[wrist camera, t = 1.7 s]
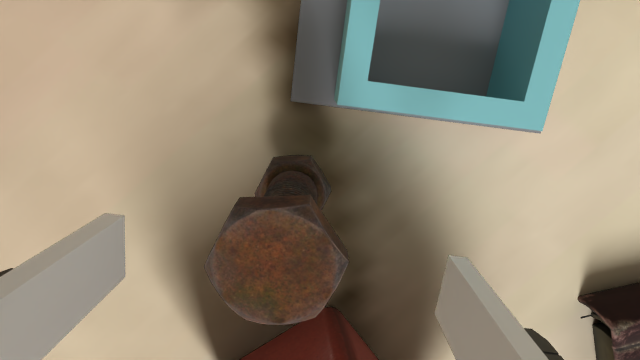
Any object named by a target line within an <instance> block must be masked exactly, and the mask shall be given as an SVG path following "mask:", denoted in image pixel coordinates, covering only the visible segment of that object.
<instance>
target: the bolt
mask: <svg viewBox="0 0 640 360" xmlns="http://www.w3.org/2000/svg"><path fill="white" fill-rule="evenodd" d="M330 193H331V186H330V184H329V182H328V181H327V179H326V177H325V176H324V174H323V172H322V171H321V169H320V168H319V166H318V165H317V163H316V162H315V161H314V159H313V158H312V156H304V155H290V156H279V157H273V159H272V161H271V163H270V165H269V166H268V168H267V170H266V172H265V174H264V176H263V178H262V180H261V182H260V184H259V186H258V188H257V190H256V192H255V195H256V197H240V198H239V199H238V201H237V202H236V204H235V205H234V207H233V209H232V211H231V213H230V215H229V216H228V218H227V220H226V222H225V224H224V226H223V228H222V230H221V232H220V234H219V236H218V238H217V240H216V242H215V244H214V246H213V248H212V250H211V252H210V254H209V256H208V258H207V261H206V263H205V266H204V268H205V270H206V272H207V274H208V277H209V279H210V281H211V283H212V284H213V286H214V287H215V289H216V291H217V292H218V293H219V295H220V296H221V298H222V299H223V300H224V301H225V303H226V304H227V305H228V306H229V307H230V308H231V309H232V310H233V311H234V312H235V313H237V314H238V315H239V316H241V317H242V318H244V319H245V320H248V321H252V322H256V323H261V324H269V325H284V324H292V323H298V322H302V321H305V320H309V319H312V318H315V317H316V316H317V315H318V314H319V313H320V312H321V311H322V309H323V308H324V307H325V305H326V304H327V302H328V301H329V299H330V298H331V296H332V294H333V293H334V291H335V290H336V288H337V286H338V284H339V282H340V280H341V278H342V276H343V274H344V272H345V270H346V267H347V265H348V263H349V260H348V253H347V249H346V248H345V246H344V245H343V243H342V242H341V240H340V239H339V237H338V236H337V234H336V233H335V231H334V230H333V228H332V227H331V225H330V224H329V222H328V221H327V219H326V218H325V216H324V215H323V213H322V212H321V210H322V209H323V207H324V205H325V203H326V201H327V199H328V197H329V195H330Z"/></svg>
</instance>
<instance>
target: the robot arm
mask: <svg viewBox="0 0 640 360" xmlns="http://www.w3.org/2000/svg"><path fill="white" fill-rule="evenodd" d="M124 278H125V218H124V215H117V214H109V213H105V214H103V215H101V216H100V217H98V218H96V219H95V220H93V221H91V222H90V223H88V224H86V225H85V226H83V227H81V228H80V229H78V230H77V231H75V232H73V233H72V234H70V235H68V236H67V237H65V238H63V239H62V240H60V241H58V242H57V243H55V244H54V245H52V246H50V247H49V248H47V249H45V250H44V251H42V252H40V253H39V254H37V255H35V256H34V257H32V258H31V259H29V260H27V261H26V262H24V263H22V264H21V265H19V266H17V267H16V268H14V269H13V268H10V269H7V270H5V271H2V272H0V360H42V359H43V358H44V357H45V356H46V355H47V354H48V353H49V352H50V351H51V350H52V349H53V348H54V347H55V346H56V345H57V344H58V343H59V342H60V341H61V340H62V339H63V338H64V337H65V336H66V335H67V334H68V333H69V332H70V331H71V330H72V329H73V328H74V327H75V326H76V325H77V324H78V323H79V322H80V321H81V320H82V319H83V318H84V317H85V316H86V315H87V314H88V313H89V312H90V311H91V310H92V309H93V308H94V307H95V306H96V305H97V304H98V303H99V302H100V301H101V300H102V299H103V298H104V297H105V296H106V295H107V294H108V293H109V292H110V291H111V290H113V289H114V288H115V287H116V286H117V285H118V284H119V283H120V282H121V281H122V280H123V279H124ZM435 316H436V318H437V320H438V322H439V324H440V327H441V329H442V331H443V333H444V335H445V337H446V339H447V342H448V344H449V346H450V348H451V350H452V352H453V354H454V357H455V359H456V360H564V359H563V358H562V357H561V356H559V355H558V352H557V351H556V350H555V349H554V348H553V346H552V345H551V344H550V343H549V342H548V341H547V340H546V339H545V338H543V337H542V336H541V335H539V334H538V333H537V332H535V331H534V330H533V329H527V328H523V327H522V326H521V324H520V323H519V322H518V321H517V319H516V318H515V317H514V316H513V314H512V313H511V312H510V311H509V309H508V308H507V307H506V306H505V304H504V303H503V302H502V301H501V299H500V298H499V297H498V296H497V294H496V293H495V292H494V291H493V289H492V288H491V287H490V286H489V284H488V283H487V282H486V281H485V279H484V278H483V277H482V276H481V274H480V273H479V272H478V270H477V269H476V268H475V267H474V265H473V264H472V263H471V262H470V260H469V259H468V258H467V257H459V256H451V255H448V260H447V264H446V268H445V272H444V276H443V280H442V284H441V289H440V293H439V297H438V301H437V305H436V309H435Z"/></svg>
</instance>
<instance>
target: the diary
mask: <svg viewBox="0 0 640 360" xmlns="http://www.w3.org/2000/svg"><path fill="white" fill-rule="evenodd" d="M578 301H579V302H580V303H582V304H584V305H586V306H587V307H589V308H590V309H591V310H592V311H593V313H591V315H587V316H583V317H581V318H585V317H589V316H591V317H593V318H596V319H598V320H600V321H602V322H600V323H596V324H593V334H594V343H595V351H596V360H640V283H635V284H631V285H626V286H622V287H617V288H613V289H608V290H604V291H599V292H595V293H590V294H586V295H582V296H579V297H578Z"/></svg>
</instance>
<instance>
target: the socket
mask: <svg viewBox="0 0 640 360" xmlns="http://www.w3.org/2000/svg"><path fill="white" fill-rule="evenodd" d="M579 2H580V0H301V6H300V15H299V25H298V35H297V44H296V54H295V64H294V73H293V83H292V93H291V101H293V102H301V103H308V104H316V105H324V106H331V107H339V108H347V109H355V110H362V111H370V112H378V113H386V114H393V115H401V116H409V117H417V118H424V119H432V120H440V121H448V122H455V123H463V124H471V125H479V126H486V127H494V128H502V129H510V130H517V131H525V132H533V133H541V131H542V130H543V127H544V123H545V120H546V116H547V113H548V109H549V106H550V102H551V99H552V96H553V92H554V89H555V85H556V82H557V78H558V75H559V71H560V68H561V64H562V61H563V58H564V54H565V51H566V47H567V44H568V40H569V37H570V33H571V30H572V26H573V23H574V20H575V16H576V13H577V9H578V6H579Z"/></svg>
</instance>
